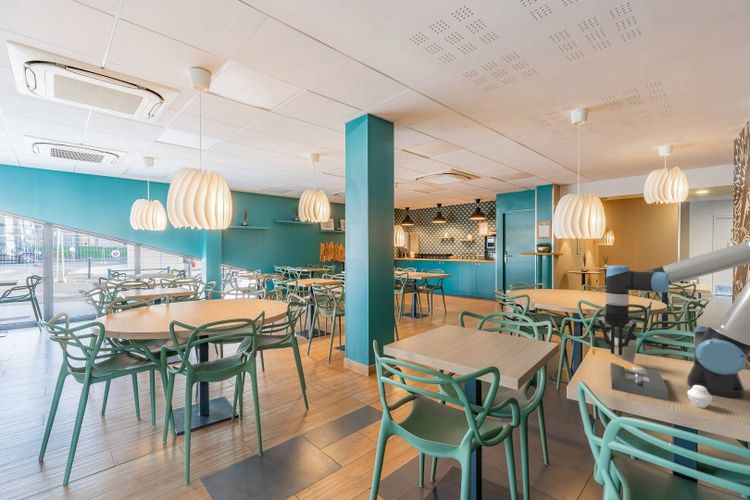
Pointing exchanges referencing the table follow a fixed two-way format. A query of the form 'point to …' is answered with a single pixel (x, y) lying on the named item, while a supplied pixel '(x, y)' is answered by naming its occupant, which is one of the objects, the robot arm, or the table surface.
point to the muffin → (699, 396)
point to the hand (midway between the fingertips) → (616, 362)
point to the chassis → (638, 382)
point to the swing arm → (618, 361)
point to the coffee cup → (628, 351)
